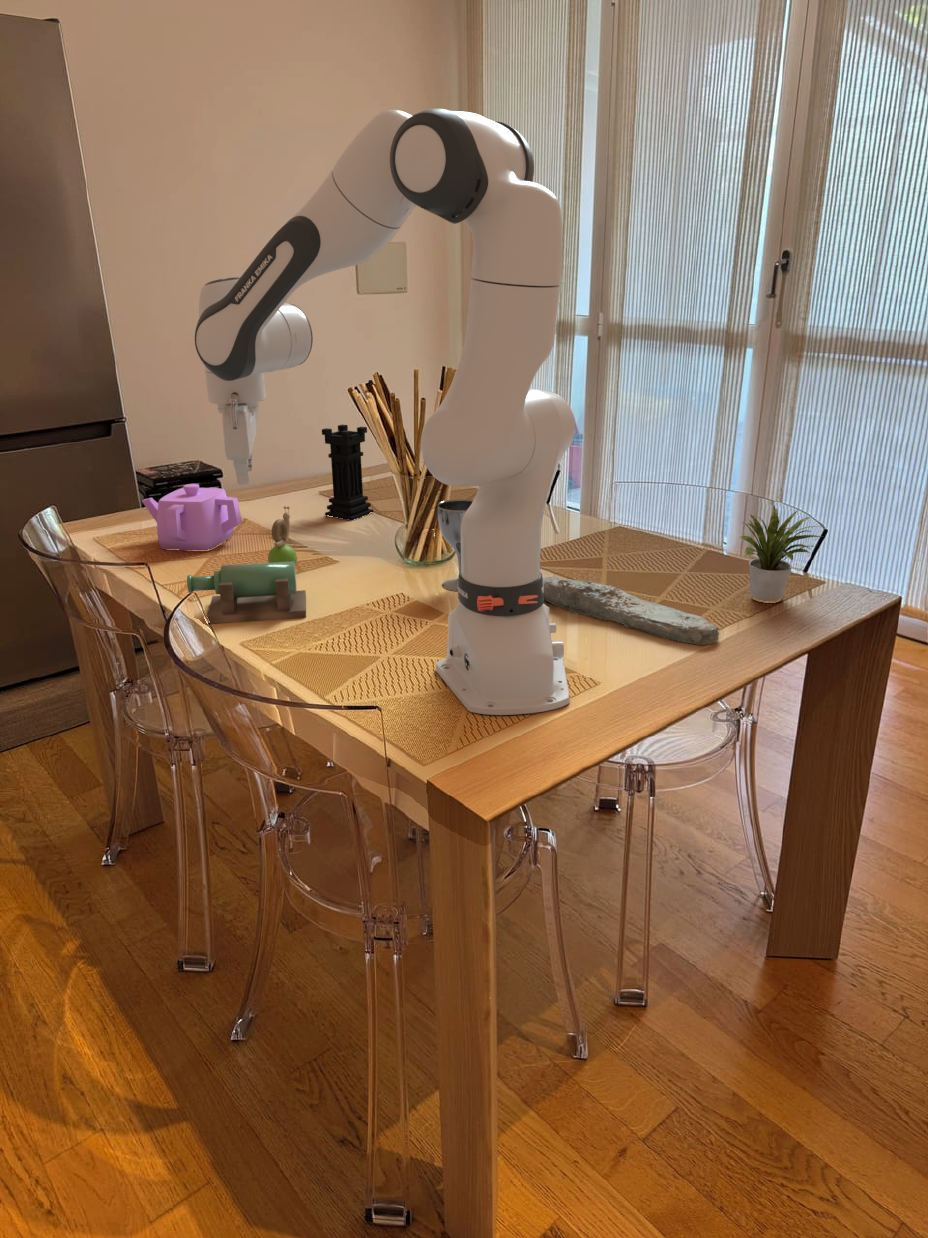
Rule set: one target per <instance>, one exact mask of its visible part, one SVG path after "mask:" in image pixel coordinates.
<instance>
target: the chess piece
mask: <svg viewBox="0 0 928 1238" xmlns="http://www.w3.org/2000/svg"><path fill="white" fill-rule="evenodd" d="M367 433H368V428H367V426H359V427H356V431H352V430H349V427H348V424H339V425H337V431H333V429H332V428H328V427H327V428H322V429H321V435H322V436H324V444H326V445H329V447H330V448H329V449H330V453H328V459H329V458H330V460H331V462H330V463H331V476H332V478H331V479H332V491H333V495H332V496H333V497H331V498H328V503H330V504H329V505H326V510H328V511H326V512H324V516H325V515H329V516H333V517H338V518H337V519H339V518H343V519H342V520H344V519H349V520H348V521H350V520H353V521H355V520H354V519H356V520H358V519H361V518H363V517H362V516H364V515H366V516H368V515H367V514H369V513H370V512H374V509H373V508H370V507H371V506H372V503H371V502H367V501H368V500H369V497H368V496H366V495H364V492H363V491H364V490H363V489H364V488H363V487H364V485H363V470H362V469H363V468H362V456H364V452H363V451H361V449H362V448H361V444H362V443H365V442H366V434H367ZM369 515H370V514H369ZM333 517H332V518H333ZM360 517H361V518H360ZM364 517H365V516H364ZM357 518H358V519H357Z"/></svg>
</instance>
